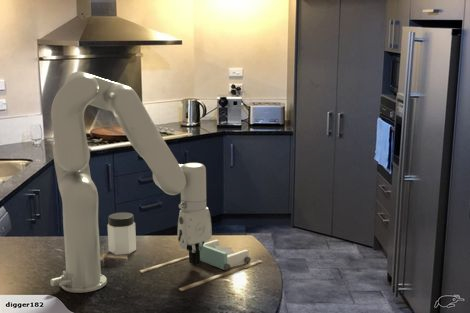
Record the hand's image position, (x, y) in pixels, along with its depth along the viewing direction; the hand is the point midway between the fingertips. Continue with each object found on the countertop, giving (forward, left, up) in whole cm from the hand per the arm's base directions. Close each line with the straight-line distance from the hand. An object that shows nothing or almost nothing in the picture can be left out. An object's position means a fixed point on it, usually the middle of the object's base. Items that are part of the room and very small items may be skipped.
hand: (194, 263), depth 189 cm
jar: (-6, +30, -2) cm, 31 cm away
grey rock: (+11, -2, -2) cm, 11 cm away
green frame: (+10, 0, -2) cm, 10 cm away
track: (+3, 0, -2) cm, 3 cm away
